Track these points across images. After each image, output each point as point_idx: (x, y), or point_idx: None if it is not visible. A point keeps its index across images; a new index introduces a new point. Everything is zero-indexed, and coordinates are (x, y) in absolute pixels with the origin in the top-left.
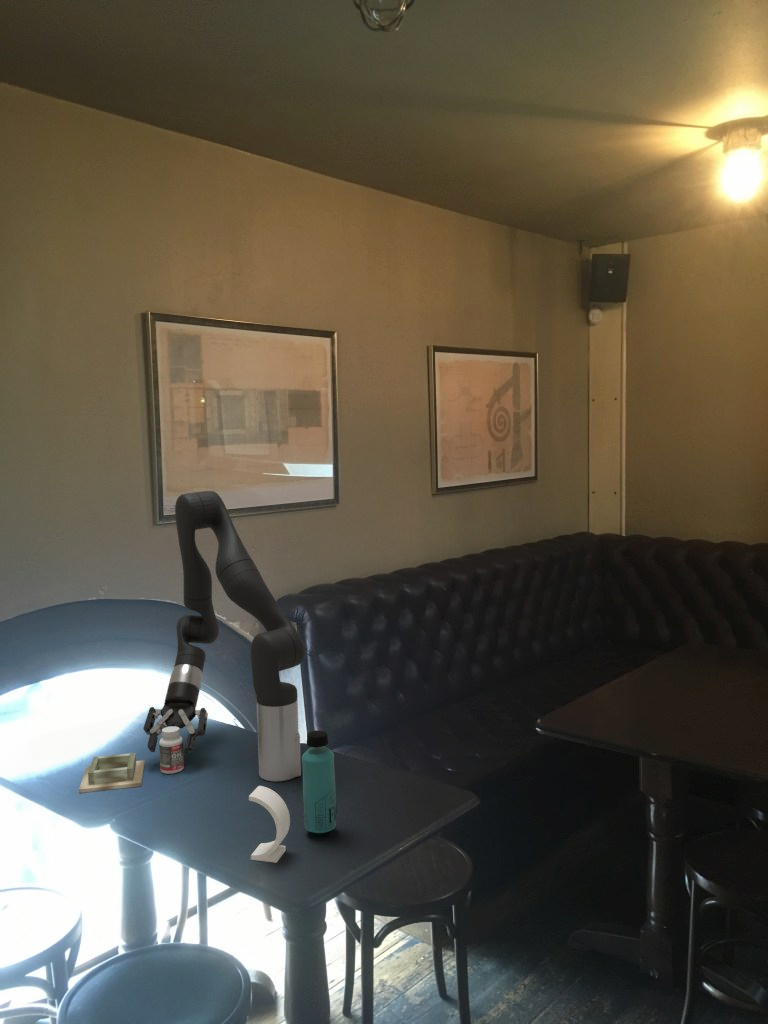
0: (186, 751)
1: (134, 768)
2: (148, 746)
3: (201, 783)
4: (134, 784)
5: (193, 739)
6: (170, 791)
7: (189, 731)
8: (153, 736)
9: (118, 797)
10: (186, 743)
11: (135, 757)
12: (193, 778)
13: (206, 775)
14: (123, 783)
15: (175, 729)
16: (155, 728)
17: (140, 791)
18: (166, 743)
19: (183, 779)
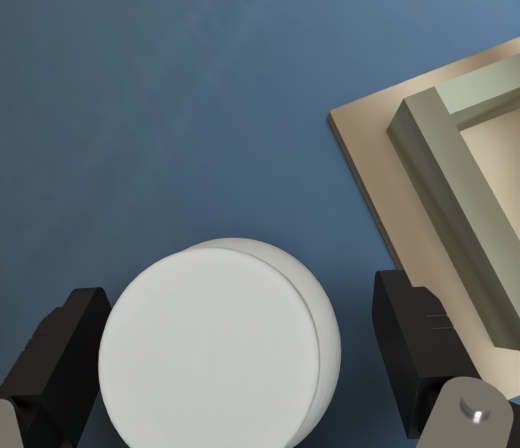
0: (105, 305)
1: (443, 225)
2: (422, 291)
3: (44, 185)
4: (358, 103)
5: (11, 372)
6: (163, 89)
7: (12, 426)
8: (422, 348)
9: (373, 6)
10: (76, 318)
11: (508, 320)
12: (100, 235)
13: (43, 278)
14: (415, 91)
15: (137, 348)
16: (458, 436)
17: (303, 71)
18: (230, 241)
19: (147, 218)
